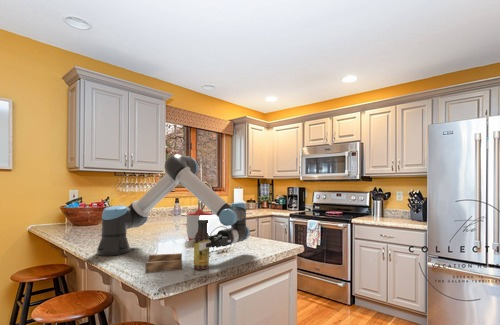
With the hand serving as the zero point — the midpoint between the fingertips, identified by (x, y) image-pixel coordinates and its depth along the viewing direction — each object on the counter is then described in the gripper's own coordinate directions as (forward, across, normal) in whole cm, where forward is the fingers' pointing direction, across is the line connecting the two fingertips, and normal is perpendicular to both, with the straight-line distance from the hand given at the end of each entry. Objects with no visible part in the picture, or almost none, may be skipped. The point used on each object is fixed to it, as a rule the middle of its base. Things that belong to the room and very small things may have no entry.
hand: (193, 245), depth 115 cm
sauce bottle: (-5, 0, -10) cm, 11 cm away
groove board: (+1, +16, -10) cm, 19 cm away
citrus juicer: (-48, +39, -10) cm, 63 cm away
